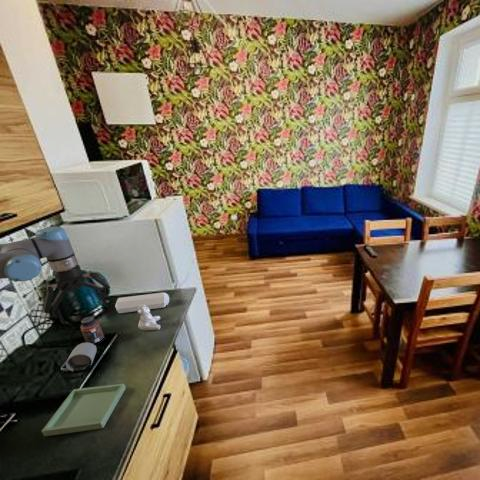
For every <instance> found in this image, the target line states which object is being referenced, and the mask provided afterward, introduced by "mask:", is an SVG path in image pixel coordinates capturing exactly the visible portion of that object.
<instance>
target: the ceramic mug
mask: <svg viewBox="0 0 480 480" xmlns="http://www.w3.org/2000/svg"><path fill="white" fill-rule="evenodd" d="M97 349H98V348H97V345H96V344H95V345H94V344H92V343H88V342H86V341H85V342H81V343H79V344H77V345H76V346H75V347H74V348H73V350H72V351H71V353H70V355H69V356H68V358H67V359H66V361H65V362H64V363H63V364H62V365H61V367H60V370H61V371H62V370H63V371H62V372H64V371H66V372H69V371H71V372H74V371H73V370H74V367H75V365H84V364H88V363H90V361H91V364H90V365H91V366H92V365H93V363H94V359H95V356H96V354H97ZM65 365H66V368H63V367H64V366H65Z"/></svg>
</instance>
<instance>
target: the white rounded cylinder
mask: <svg viewBox="0 0 480 480" xmlns="http://www.w3.org/2000/svg"><path fill="white" fill-rule="evenodd" d="M169 303H170V296H169V294H168V293H167V292H155V293H148V294H147V293H146V294H139V295H131V296H123V297H118V298H117V300H116V302H115V305H114V307H115V309H116V312H117V313H118V314H125V313H133V312H138V311H137V309H138V307H139V306H140V304H141V305H142V304H144V305H145V306H146V307H148V308H149V310H154V309H162V308H165V307H167V306H168V305H169ZM166 305H167V306H166Z"/></svg>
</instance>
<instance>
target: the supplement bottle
mask: <svg viewBox="0 0 480 480" xmlns="http://www.w3.org/2000/svg"><path fill="white" fill-rule="evenodd" d="M80 323H81V325H80V328H79V329H80V331H81V333H82V336H83V338H84V341H85V343H86V342H88V343H92V344H95V343H97V342H100V341H101V340H102V339H103V338H104V339H105V335H104V332H103V329H102V326H101V324H100V321H99V320H97V319H95V317H94V316H86V317H84V318H83V319H82V320H81V322H80ZM104 339H103V340H104ZM103 340H102V341H103ZM102 341H101V342H102ZM101 342H100V343H101ZM95 345H96V344H95Z"/></svg>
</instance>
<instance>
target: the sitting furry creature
mask: <svg viewBox="0 0 480 480" xmlns="http://www.w3.org/2000/svg"><path fill="white" fill-rule="evenodd" d="M136 312H137V313H138V314H139V315H140V316H139V321H138V324H137V327H138V329H140V330H141V331H144V332H145V331H147V332H148V331H159V330H160V329H161V328H162V327H161V325H160V324H158V323H157V322H158V321H160V320H161V316H160V315H154V316H153V315H152V313H151V309H149V308H148V307H146V306H145V305H144V304H142V305H141V304H140V306H139V307H138V309H137V311H136Z"/></svg>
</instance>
